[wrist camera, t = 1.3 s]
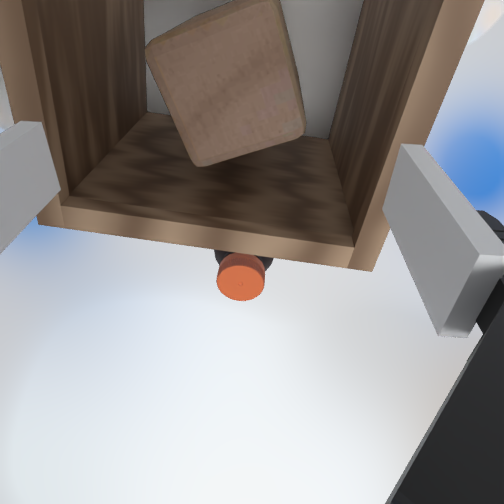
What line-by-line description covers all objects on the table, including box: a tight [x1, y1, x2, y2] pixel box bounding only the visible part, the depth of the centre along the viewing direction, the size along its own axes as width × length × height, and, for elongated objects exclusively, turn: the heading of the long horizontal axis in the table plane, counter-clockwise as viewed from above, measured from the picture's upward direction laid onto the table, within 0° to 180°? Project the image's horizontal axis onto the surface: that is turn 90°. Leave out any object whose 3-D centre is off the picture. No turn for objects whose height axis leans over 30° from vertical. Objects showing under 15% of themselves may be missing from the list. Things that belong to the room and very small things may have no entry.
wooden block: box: [145, 0, 306, 167], centre depth 36 cm, size 10×10×20 cm
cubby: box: [0, 0, 484, 272], centre depth 34 cm, size 26×20×26 cm
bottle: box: [214, 249, 273, 301], centre depth 47 cm, size 7×7×20 cm
